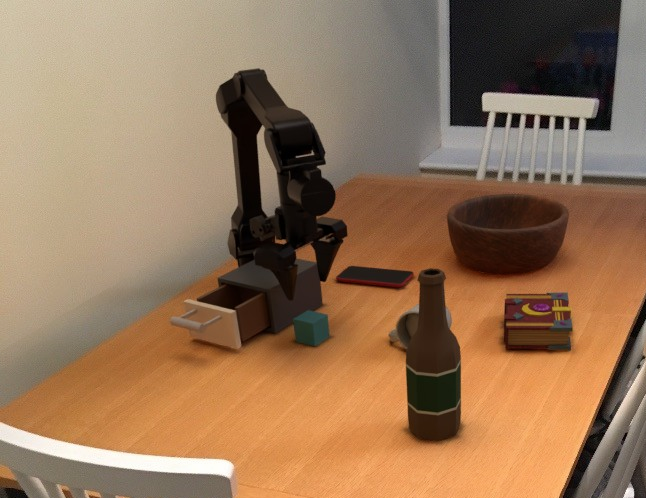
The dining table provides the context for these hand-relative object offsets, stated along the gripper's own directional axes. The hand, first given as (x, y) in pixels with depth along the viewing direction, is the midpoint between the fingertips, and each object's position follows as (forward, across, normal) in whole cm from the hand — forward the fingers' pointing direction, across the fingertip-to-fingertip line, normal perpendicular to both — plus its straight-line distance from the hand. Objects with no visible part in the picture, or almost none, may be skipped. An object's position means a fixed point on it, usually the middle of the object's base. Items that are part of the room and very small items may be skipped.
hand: (307, 290), depth 145 cm
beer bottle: (+9, +16, +35) cm, 40 cm away
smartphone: (+9, -29, -6) cm, 31 cm away
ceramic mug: (+9, -7, +18) cm, 22 cm away
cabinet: (+9, -6, -14) cm, 18 cm away
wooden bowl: (+10, -51, +13) cm, 54 cm away
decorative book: (+9, -21, +34) cm, 41 cm away
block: (+9, 0, 0) cm, 9 cm away
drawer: (+8, +7, -14) cm, 18 cm away
